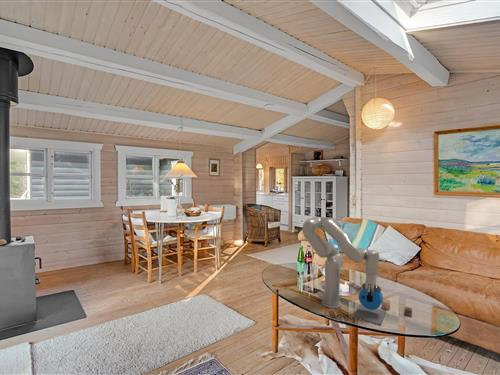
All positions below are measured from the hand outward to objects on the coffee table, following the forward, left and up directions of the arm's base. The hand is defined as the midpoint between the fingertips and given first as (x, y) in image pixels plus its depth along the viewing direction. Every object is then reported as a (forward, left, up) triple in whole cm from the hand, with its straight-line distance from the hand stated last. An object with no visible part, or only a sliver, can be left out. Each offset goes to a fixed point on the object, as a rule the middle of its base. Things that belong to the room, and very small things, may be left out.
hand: (370, 299), depth 184 cm
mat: (0, -1, -10) cm, 10 cm away
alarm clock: (0, 0, -6) cm, 6 cm away
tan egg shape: (+7, +15, -10) cm, 19 cm away
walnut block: (+20, +13, -10) cm, 26 cm away
